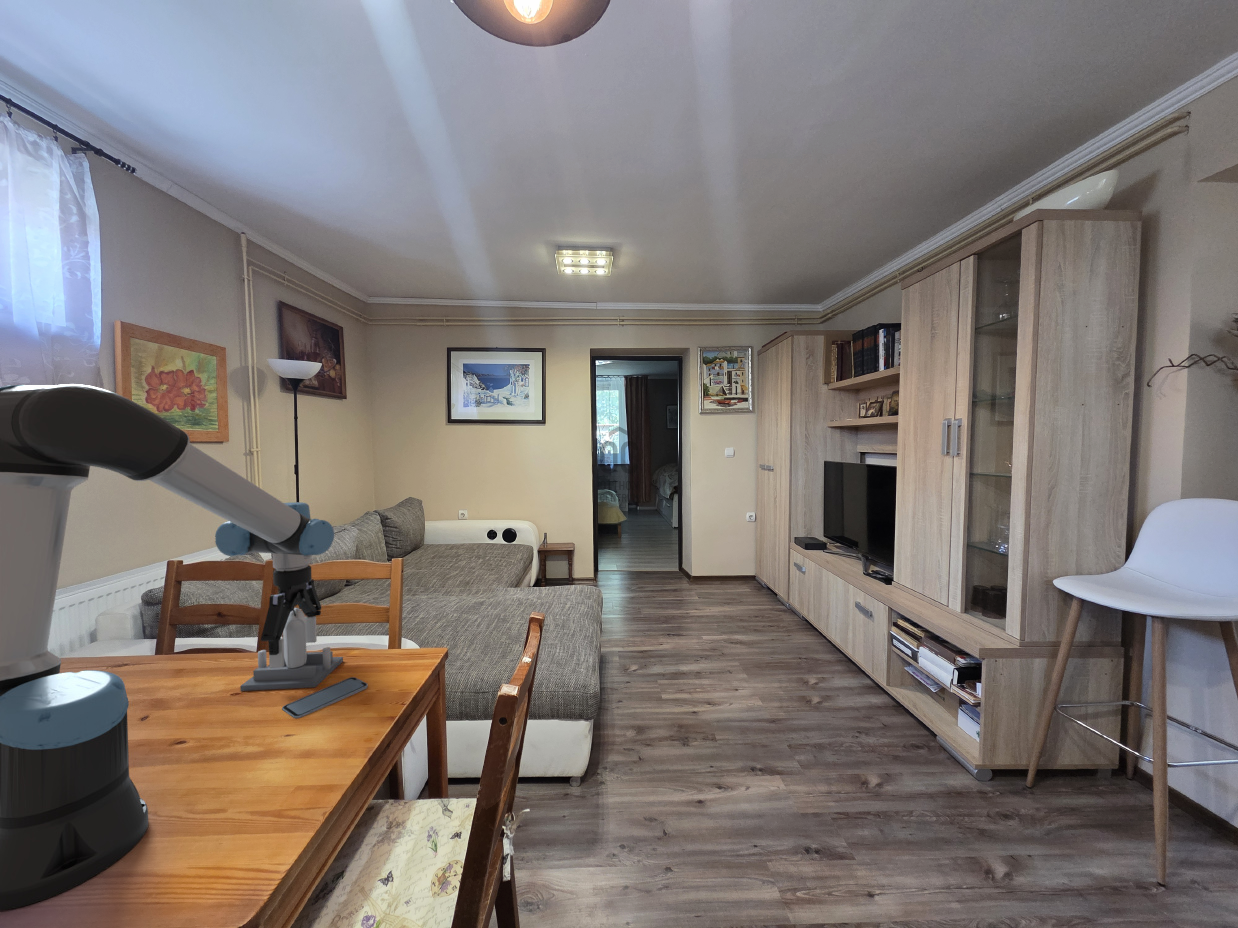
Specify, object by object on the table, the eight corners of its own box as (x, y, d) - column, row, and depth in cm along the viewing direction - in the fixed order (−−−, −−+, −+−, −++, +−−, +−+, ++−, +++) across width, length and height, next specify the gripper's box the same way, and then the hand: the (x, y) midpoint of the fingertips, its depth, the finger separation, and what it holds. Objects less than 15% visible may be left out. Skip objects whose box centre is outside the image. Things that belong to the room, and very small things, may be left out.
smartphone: (280, 706, 98) (352, 676, 111) (280, 711, 98) (352, 679, 111) (296, 717, 94) (369, 684, 107) (296, 722, 94) (369, 688, 107)
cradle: (315, 686, 107) (315, 660, 106) (240, 690, 105) (239, 663, 105) (343, 661, 120) (342, 637, 119) (276, 664, 118) (275, 640, 118)
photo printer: (282, 655, 115) (281, 606, 114) (303, 650, 118) (302, 602, 117) (285, 670, 107) (284, 618, 106) (308, 665, 110) (306, 613, 109)
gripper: (276, 581, 99) (279, 678, 100) (335, 554, 124) (336, 632, 125) (238, 582, 99) (241, 680, 99) (305, 555, 123) (307, 633, 124)
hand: (294, 653), depth 112 cm, fingers open, 13 cm apart
